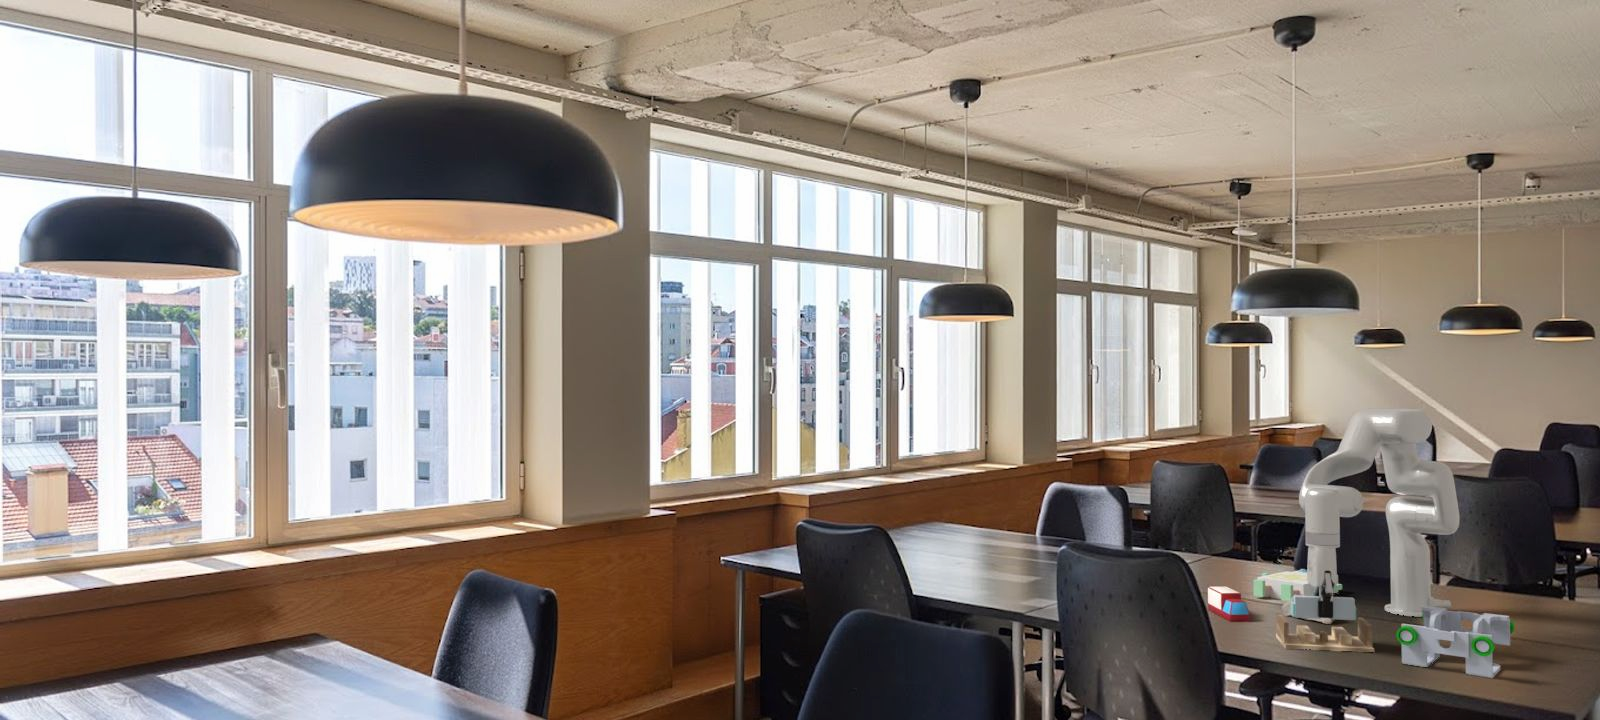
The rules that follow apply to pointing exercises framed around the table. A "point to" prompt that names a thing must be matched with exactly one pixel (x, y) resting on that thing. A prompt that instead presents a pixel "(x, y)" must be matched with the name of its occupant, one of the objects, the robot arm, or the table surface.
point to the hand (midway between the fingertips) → (1323, 614)
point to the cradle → (1325, 637)
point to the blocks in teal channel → (1309, 607)
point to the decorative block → (1285, 585)
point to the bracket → (1455, 639)
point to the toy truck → (1227, 604)
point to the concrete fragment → (1287, 612)
